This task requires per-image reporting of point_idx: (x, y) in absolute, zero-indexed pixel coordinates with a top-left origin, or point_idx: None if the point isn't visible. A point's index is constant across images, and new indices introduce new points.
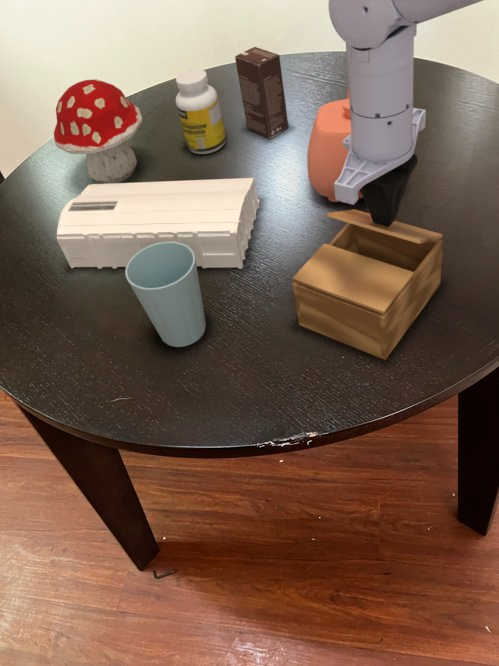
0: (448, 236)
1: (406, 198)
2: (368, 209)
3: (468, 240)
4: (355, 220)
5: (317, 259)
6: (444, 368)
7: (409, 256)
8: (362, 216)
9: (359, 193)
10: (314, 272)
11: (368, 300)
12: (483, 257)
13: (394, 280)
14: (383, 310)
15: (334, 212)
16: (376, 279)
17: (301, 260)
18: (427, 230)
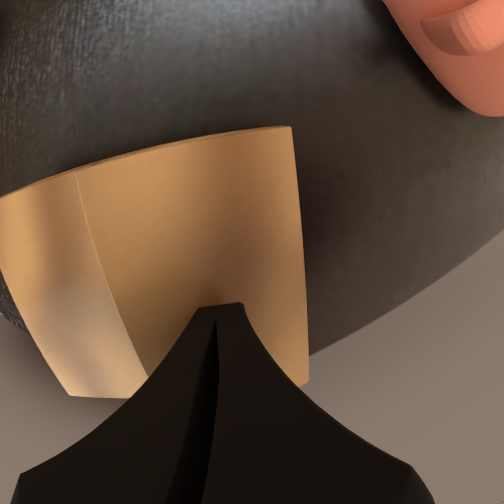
0: (398, 242)
1: (452, 121)
2: (180, 335)
3: (398, 273)
4: (125, 296)
5: (39, 206)
6: None
7: None
8: (226, 227)
9: (414, 44)
10: (14, 235)
11: (59, 370)
12: (370, 311)
13: (126, 383)
14: (70, 394)
15: (127, 164)
16: (100, 357)
17: (186, 37)
18: (304, 358)
